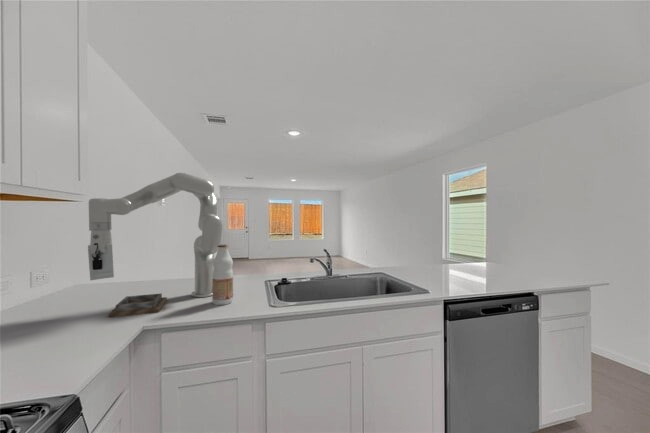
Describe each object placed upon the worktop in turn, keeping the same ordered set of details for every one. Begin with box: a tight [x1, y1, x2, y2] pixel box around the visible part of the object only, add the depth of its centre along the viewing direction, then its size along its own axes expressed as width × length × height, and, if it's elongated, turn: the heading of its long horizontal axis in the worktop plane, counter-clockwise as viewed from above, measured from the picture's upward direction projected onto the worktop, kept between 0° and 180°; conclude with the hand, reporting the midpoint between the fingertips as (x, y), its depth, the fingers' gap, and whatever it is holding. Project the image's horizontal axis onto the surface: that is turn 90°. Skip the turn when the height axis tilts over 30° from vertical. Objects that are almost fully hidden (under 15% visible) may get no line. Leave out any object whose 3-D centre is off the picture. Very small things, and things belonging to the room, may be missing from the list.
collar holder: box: [108, 292, 168, 318], centre depth 124 cm, size 18×18×4 cm
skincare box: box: [87, 243, 115, 281], centre depth 119 cm, size 8×6×15 cm
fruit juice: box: [211, 243, 234, 306], centre depth 133 cm, size 9×9×28 cm
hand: (101, 267), depth 119 cm, fingers closed on skincare box, 7 cm apart
